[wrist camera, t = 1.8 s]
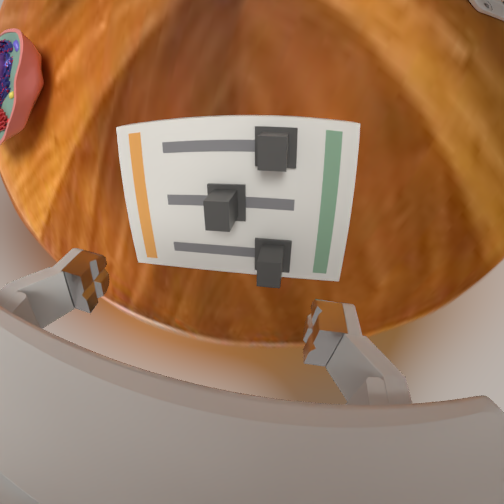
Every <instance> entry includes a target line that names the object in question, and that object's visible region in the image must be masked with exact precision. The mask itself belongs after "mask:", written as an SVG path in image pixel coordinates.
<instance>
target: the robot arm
mask: <svg viewBox="0 0 504 504" xmlns="http://www.w3.org/2000/svg"><path fill="white" fill-rule="evenodd" d="M469 1H470V3H471V4H472V6H473V7H474V8H475V9H476V10H477V11H479V12H481V13H484V14H487V15H490V16H492V17H495V18H497V19H500V20H502V21H504V0H469ZM106 265H107V262H106V257H104V256H103V255H100V254H97V253H93V252H90V251H86V250H82V249H78V248H73V249H72V250H71V251H69V252H68V253H67V254H66V255H65V256H64V257H63V258H62V259H61V260H60V261H59V262H58V263H57V264H56V265H54V266H53V267H52V268H50V267H49V268H46V269H44V270H41V271H38V272H35V273H33V274H30V275H28V276H25V277H22V278H20V279H18V280H15V281H12V282H10V283H7V284H6V285H5V286H4V287H3V288H2V289H1V290H0V504H504V412H503V411H502V410H501V409H500V408H499V407H498V406H497V405H496V404H495V403H494V402H493V401H492V400H491V399H490V398H488V397H487V396H474V397H468V398H462V399H455V400H448V401H440V402H429V403H416V404H412V401H411V397H410V393H409V389H408V385H407V381H406V377H405V376H404V375H403V374H402V373H401V372H400V371H399V370H398V369H397V368H396V367H395V366H394V365H393V364H392V362H391V361H390V360H388V359H387V357H386V356H385V355H384V354H383V353H382V352H381V351H380V350H379V349H378V348H377V347H376V346H375V345H374V344H373V343H372V342H371V341H370V340H369V339H368V338H367V337H366V336H362V332H361V328H360V324H359V320H358V316H357V312H356V308H355V306H354V305H353V304H348V303H338V302H331V301H325V300H319V299H314V301H313V303H312V305H311V314H310V315H308V316H307V319H306V321H305V325H304V330H303V340H304V342H305V343H306V344H305V347H304V349H303V350H304V351H303V354H304V363H305V364H313V365H319V366H326V369H327V371H328V372H329V374H330V375H331V377H332V378H333V380H334V381H335V383H336V385H337V386H338V388H339V389H340V391H341V392H342V394H343V395H344V397H345V398H346V400H347V403H346V404H326V403H325V404H324V403H312V402H301V401H291V400H283V399H274V398H267V397H261V396H254V395H248V394H242V393H236V392H231V391H226V390H221V389H216V388H211V387H207V386H203V385H198V384H194V383H190V382H186V381H182V380H178V379H174V378H170V377H167V376H163V375H160V374H157V373H153V372H150V371H147V370H143V369H141V368H137V367H134V366H131V365H128V364H126V363H122V362H120V361H117V360H114V359H111V358H109V357H106V356H103V355H101V354H98V353H96V352H93V351H91V350H88V349H86V348H83V347H81V346H78V345H76V344H74V343H72V342H69V341H67V340H65V339H63V338H60V337H58V336H56V335H54V334H52V333H50V332H48V331H46V330H44V329H42V328H44V327H46V326H47V325H49V324H50V323H52V322H54V321H55V320H57V319H59V318H60V317H62V316H64V315H65V314H67V313H68V312H70V311H72V310H73V309H74V308H76V309H79V310H83V311H86V312H88V313H91V312H92V310H93V309H94V308H95V306H96V305H97V303H98V298H99V297H101V296H104V294H105V293H106V291H107V289H108V286H109V274H108V272H107V271H106V269H105V267H106Z"/></svg>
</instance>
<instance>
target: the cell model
mask: <svg viewBox="0 0 504 504" xmlns="http://www.w3.org/2000/svg"><path fill="white" fill-rule="evenodd" d="M43 85H44V79H43V74H42V57H41V54H40V53H39V52H38V50H37V49H36V47H35V45H34V44H33V43H32V42H31V41H30V40H29V39H28V38H27V37H26V36H25V35H24V34H23V33H22V32H21V31H20V30H19V29H7V30H5V31H3V32H2V33H1V34H0V145H1V144H3V143H4V142H5V141H7V140H8V139H10V138H11V137H13V136H15V135H17V134H18V133H19V132H20V131H22V130H23V129H24V127H25V126H26V123H27V121H28V119H29V117H30V114H31V112H32V109H33V107H34V105H35V103H36V101H37V99H38V96H39V94H40V92H41V90H42V88H43Z"/></svg>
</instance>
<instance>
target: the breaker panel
mask: <svg viewBox="0 0 504 504" xmlns="http://www.w3.org/2000/svg"><path fill="white" fill-rule="evenodd" d="M255 126H271V127H293V128H298V134H297V161H296V168H287V170H286V172H280V171H260V170H257V168H258V166H255ZM116 130H117V141H118V150H119V159H120V167H121V174H122V181H123V188H124V194H125V200H126V206H127V211H128V217H129V222H130V227H131V232H132V237H133V241H134V246H135V251H136V255H137V259H138V262H141V263H149V264H158V265H167V266H176V267H185V268H195V269H204V270H214V271H224V272H234V273H245V274H256V275H257V270H255V238H265V239H278V240H291V241H292V246H291V259H290V271H289V273H286V272H282V277H290V278H301V279H314V280H327V281H339V278H340V273H341V268H342V263H343V258H344V252H345V247H346V241H347V235H348V229H349V223H350V216H351V209H352V202H353V195H354V187H355V178H356V169H357V160H358V149H359V136H360V124H359V123H356V122H351V121H343V120H334V119H324V118H313V117H299V116H278V115H221V116H201V117H186V118H175V119H165V120H156V121H148V122H141V123H134V124H128V125H124V126H120V127H116ZM208 183H214V184H246V222H245V221H235V223H234V225H233V227H232V229H231V231H230V232H222V231H207V230H205V219H204V206H203V201H204V200H205V198H206V197H207V196H208V193H207V184H208Z"/></svg>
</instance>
